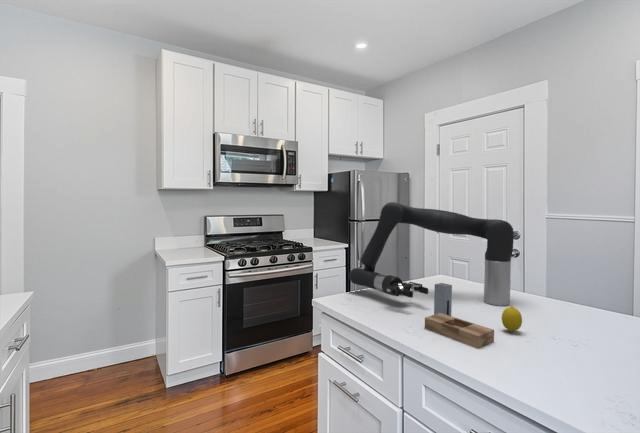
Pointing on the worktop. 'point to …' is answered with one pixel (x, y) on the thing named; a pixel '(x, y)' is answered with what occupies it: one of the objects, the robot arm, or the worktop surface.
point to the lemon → (511, 319)
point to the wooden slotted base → (460, 330)
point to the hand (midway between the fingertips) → (420, 292)
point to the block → (443, 299)
